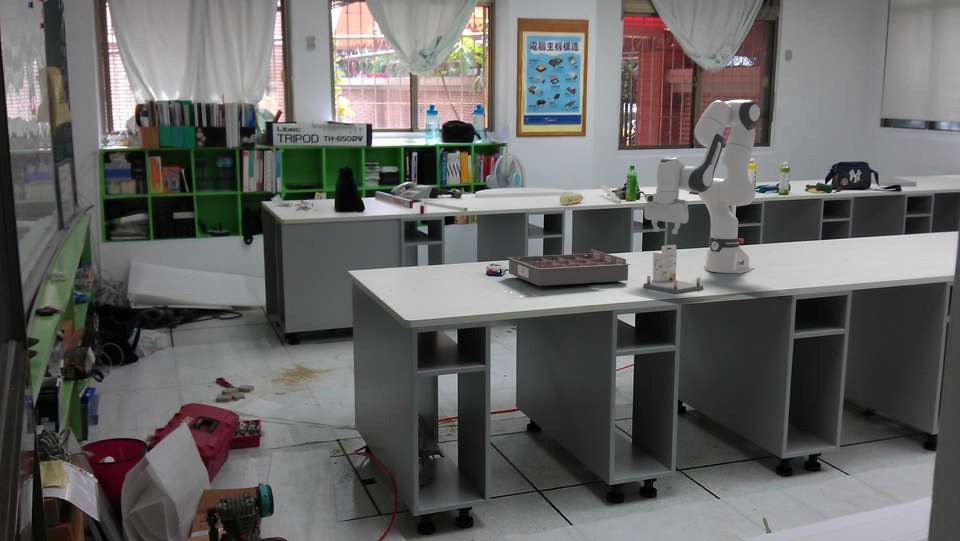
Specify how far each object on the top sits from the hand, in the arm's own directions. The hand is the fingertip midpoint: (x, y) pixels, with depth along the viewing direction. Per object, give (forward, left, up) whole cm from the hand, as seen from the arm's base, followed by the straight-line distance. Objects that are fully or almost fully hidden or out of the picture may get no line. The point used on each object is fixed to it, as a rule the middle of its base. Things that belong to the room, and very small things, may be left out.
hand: (665, 232), depth 357 cm
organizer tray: (+31, -24, -20) cm, 44 cm away
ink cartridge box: (0, 0, -20) cm, 20 cm away
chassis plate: (+11, +14, -19) cm, 26 cm away
